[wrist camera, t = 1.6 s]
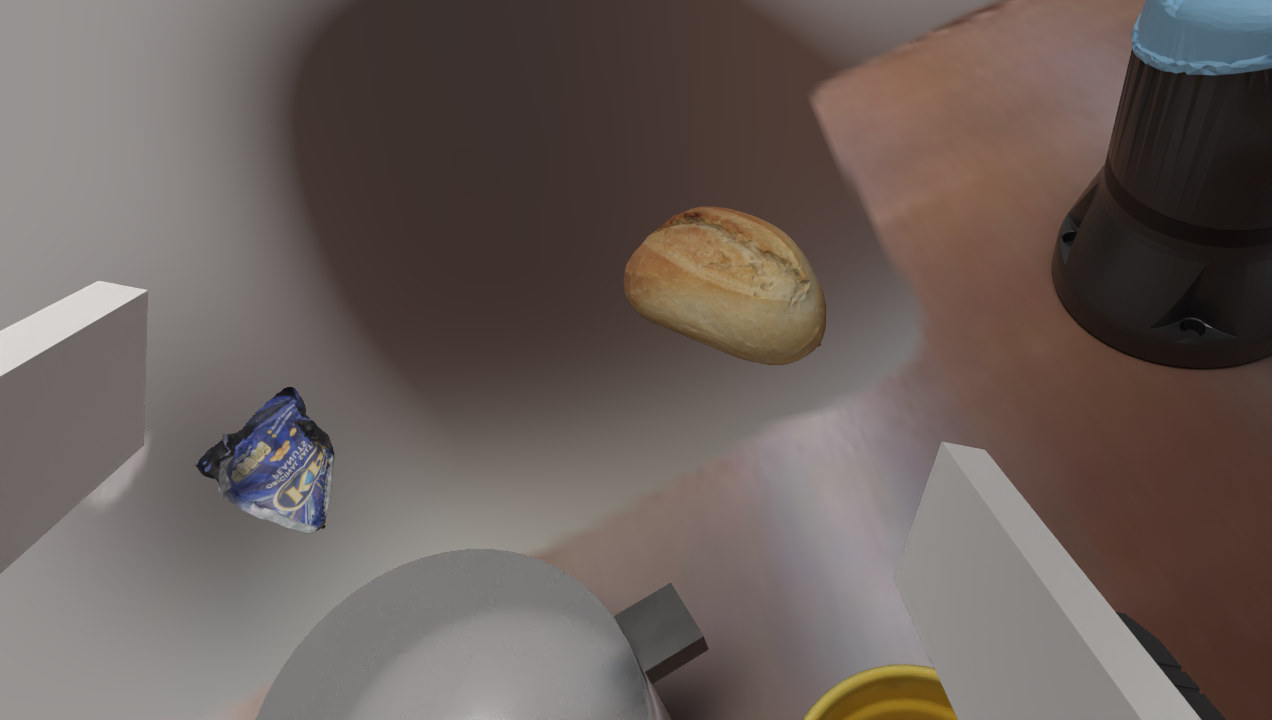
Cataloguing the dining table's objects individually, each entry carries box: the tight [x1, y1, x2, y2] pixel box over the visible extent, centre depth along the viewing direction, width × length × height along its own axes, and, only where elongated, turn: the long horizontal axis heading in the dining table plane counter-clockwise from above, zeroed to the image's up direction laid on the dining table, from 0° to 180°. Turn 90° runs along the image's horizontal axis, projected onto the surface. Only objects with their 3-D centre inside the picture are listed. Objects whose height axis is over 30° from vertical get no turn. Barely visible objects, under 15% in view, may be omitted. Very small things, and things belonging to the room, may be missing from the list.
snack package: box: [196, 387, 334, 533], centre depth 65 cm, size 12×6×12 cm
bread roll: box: [624, 207, 826, 365], centre depth 63 cm, size 10×15×8 cm, turn 60°
